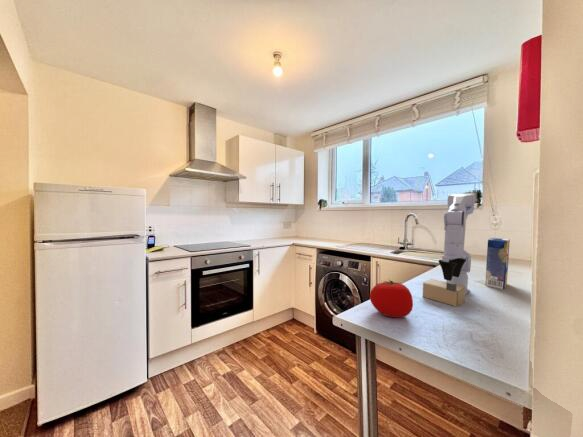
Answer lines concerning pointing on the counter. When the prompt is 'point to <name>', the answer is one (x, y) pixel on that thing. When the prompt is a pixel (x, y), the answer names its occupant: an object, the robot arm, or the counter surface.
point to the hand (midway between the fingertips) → (451, 278)
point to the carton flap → (441, 293)
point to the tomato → (392, 299)
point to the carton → (443, 284)
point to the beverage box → (497, 262)
